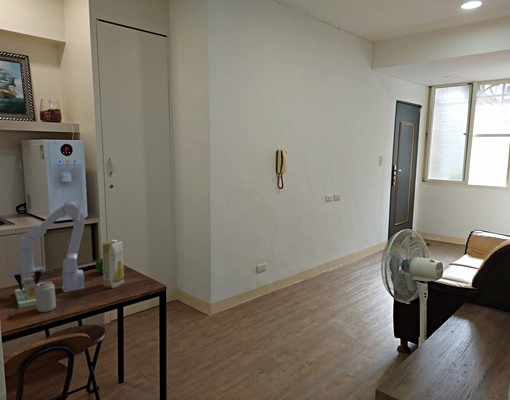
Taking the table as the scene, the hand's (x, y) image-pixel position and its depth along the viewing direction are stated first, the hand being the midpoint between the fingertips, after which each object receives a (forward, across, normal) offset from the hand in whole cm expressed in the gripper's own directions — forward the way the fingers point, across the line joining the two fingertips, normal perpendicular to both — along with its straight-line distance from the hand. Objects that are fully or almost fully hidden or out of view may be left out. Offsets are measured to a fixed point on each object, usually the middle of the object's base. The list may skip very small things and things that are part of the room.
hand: (29, 288), depth 181 cm
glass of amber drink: (+3, 0, +10) cm, 11 cm away
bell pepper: (+3, -38, -12) cm, 40 cm away
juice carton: (+3, -37, +10) cm, 38 cm away
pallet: (+3, 0, +5) cm, 6 cm away
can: (+3, -4, +23) cm, 24 cm away
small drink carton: (+3, 0, 0) cm, 3 cm away
